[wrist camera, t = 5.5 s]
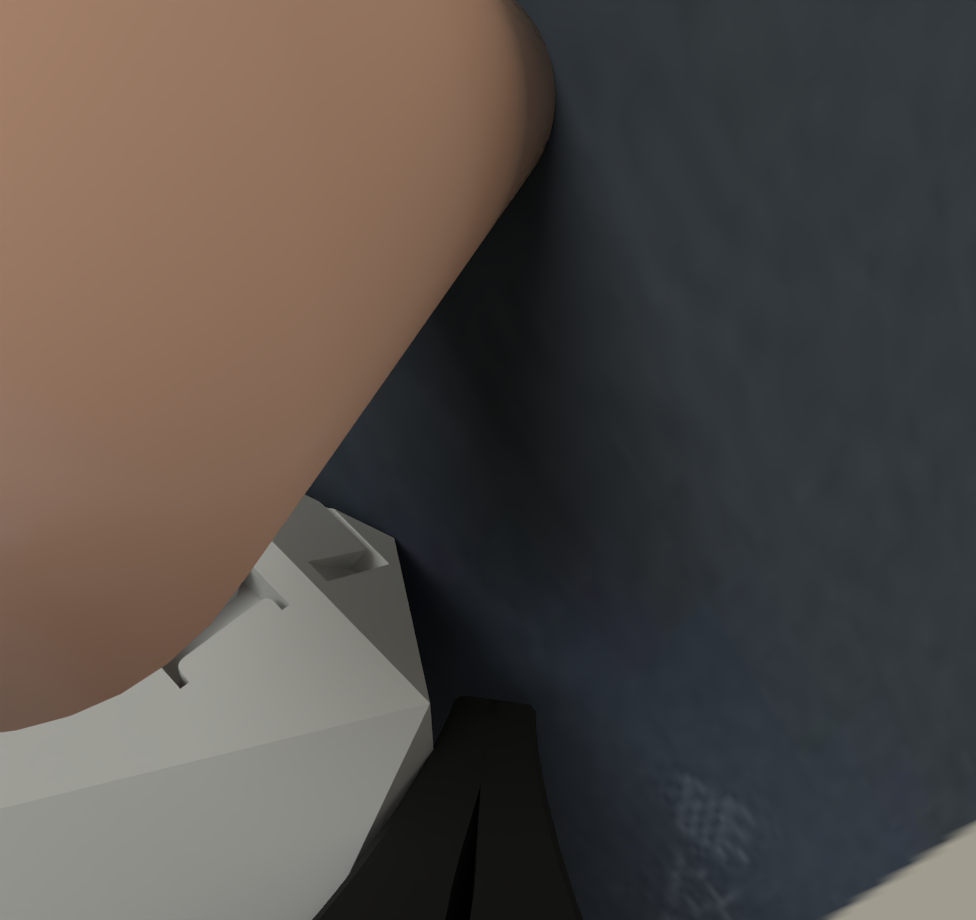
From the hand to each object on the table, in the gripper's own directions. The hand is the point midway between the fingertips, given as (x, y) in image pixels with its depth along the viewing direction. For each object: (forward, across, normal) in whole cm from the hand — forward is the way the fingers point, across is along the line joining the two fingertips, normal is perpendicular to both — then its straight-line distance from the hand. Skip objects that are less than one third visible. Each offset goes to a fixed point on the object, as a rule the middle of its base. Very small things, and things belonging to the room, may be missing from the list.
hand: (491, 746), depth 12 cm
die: (+3, +5, 0) cm, 6 cm away
